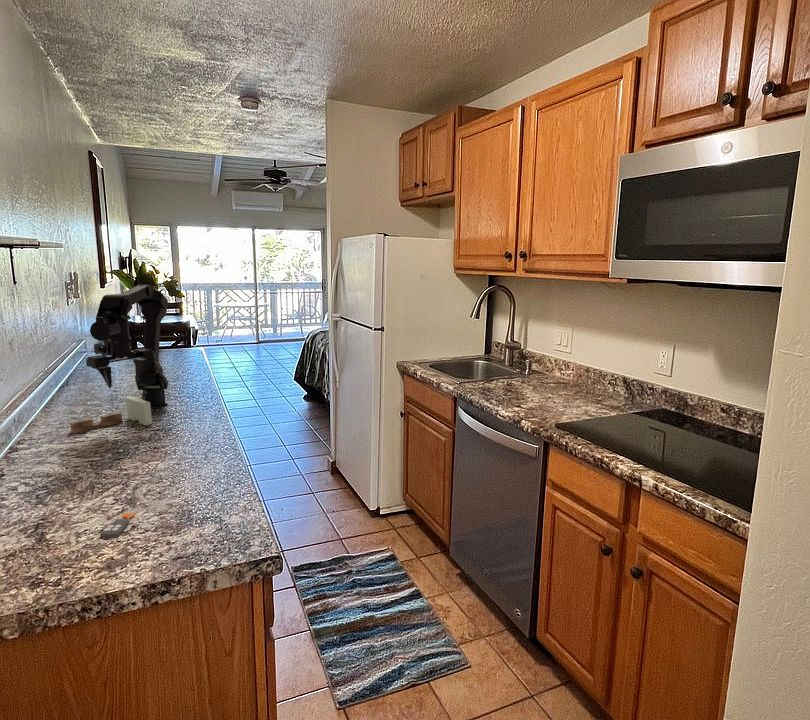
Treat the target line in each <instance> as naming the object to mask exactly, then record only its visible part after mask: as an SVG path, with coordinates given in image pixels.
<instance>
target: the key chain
mask: <svg viewBox="0 0 810 720" xmlns="http://www.w3.org/2000/svg"><path fill="white" fill-rule="evenodd" d="M140 511H142V509H137V510H135V511H133V512H131V513H129V512H128V513H124V514H123V515H122V518H118V519H115V520H114V521H112V522H111V523H110V524H109V525H108V526H107V527H106V528H105V529H103V530H102V531H101V533H100V534H99V535H100V536H99V537H100V538H105V539H106V538H117V537H119V536H120V535H121V534H122V533H123V532H124V531H125V529H126V528H127V527H128V525H129V523H130V520H129V519H131V518H134V517H135V516H136V514H137V513H138V512H140Z"/></svg>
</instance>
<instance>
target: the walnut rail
mask: <svg viewBox="0 0 810 720" xmlns="http://www.w3.org/2000/svg"><path fill="white" fill-rule="evenodd" d="M121 423H123V415H122V412H119V411H117V412H113V413H107V414H103V415H100V422H95V423H94V419H92V418H91V417H88V418H84V419H80V420H75V421H70V422H69V425H70V433H73V434H76V433H77V434H78V433H81V432H85V431H90V430H94V429H98V428H104V427H108V426H112V425H116V424H121Z"/></svg>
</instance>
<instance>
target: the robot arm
mask: <svg viewBox="0 0 810 720" xmlns="http://www.w3.org/2000/svg"><path fill="white" fill-rule="evenodd" d="M99 302H100V303H99V305H98V309H97V312H96V316H95V322H93V323H92V324H91V326H90V328H89V332H90V333H89V334H90V335H91V337H92V338H93V339H94V340H96V341H101V342H99V343H94V344H93V350H94V354H95V355H93V356H88V357H87V358H86V360H85V364H86V367H91V368H92V369H95V370H97V371H98V372H99V373H100V375H101V377H102V378H103V380H104V382H105V384H106V385H107V387H108V388H112V383H113V382H112V366H109V364H110V363H115V362H116V363H117V362H123V361H127V360H132V361H133V363H134V368H135V369H134V370H135V375H134V376H135V377H134V380H135V384H136V387H137V390H138V391H141V392H142V393H141V400H144V401H147V402H150V406H151V409H155V408H159V407H163V406H168V405H169V404H168V402H166V397H165V396H166V395H165V390H167V389H168V387H169V380H168V379H167V378H166V376H165V375H164V369H163V367H162V365H161V364H160V362H159V359H160V358H159V355H160V343H161V342H160V340H161V339H160V338H161V323H162V320H163V319H164V318H165V316H166V315H167V313H168V312H167V310H168V307H169V300H168V299H167V298H166V297H165V295H164V294H163V293H162V292H160V291H159V290H157V289H154V287H153V286H152V285H149V284H137V285H135V286H134V287H132V288H130V289H128V290H125V291H123V292H121V293H113V294H110V293H109V294H105V295H103V296H102V298H101V300H100V301H99ZM135 304H137V305H138V306H139V307H140V312H141V314H142V316H143V317H144V320H145V325H144V327H145V328H144V337H143V338H144V340H143V348H137V349H133V350H132V345H131V343H133V342H134V341H133V338H131V336H130V327H129V320H131V318H132V317H131V316H130V315H129V313H130V312H131V311H132V309H133V305H135ZM105 340H106V343H105V344H103V342H102V341H105Z"/></svg>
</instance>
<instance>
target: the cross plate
mask: <svg viewBox="0 0 810 720" xmlns="http://www.w3.org/2000/svg"><path fill="white" fill-rule="evenodd" d="M125 405H126V414H127V419H128V420H131V421H134V422H135V421H138V423H139V424H141V425H142V426H143V425H144V426H149V425H152V424H153V422H152V421H153V419H152V408H151V406H150V402H147V401H144V400H142V398H138V397H134V396H133V395H132V396H127V397H125Z"/></svg>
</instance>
